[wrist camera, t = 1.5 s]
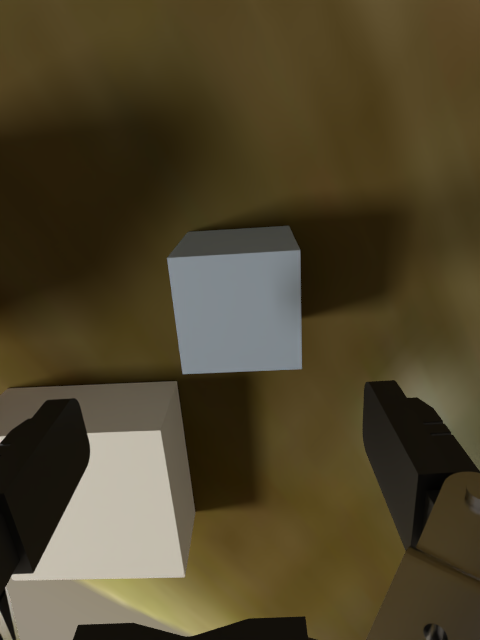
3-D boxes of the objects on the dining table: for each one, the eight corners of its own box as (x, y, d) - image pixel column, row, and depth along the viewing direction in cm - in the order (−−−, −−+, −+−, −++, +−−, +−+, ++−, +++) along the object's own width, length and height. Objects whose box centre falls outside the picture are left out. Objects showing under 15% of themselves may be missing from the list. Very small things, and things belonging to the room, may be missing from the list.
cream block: (176, 381, 26) (160, 430, 22) (195, 512, 30) (184, 577, 26) (7, 388, 27) (-44, 437, 22) (48, 516, 31) (12, 580, 26)
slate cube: (288, 225, 23) (300, 250, 17) (290, 319, 25) (301, 369, 19) (187, 231, 23) (167, 258, 17) (198, 324, 25) (182, 374, 19)
